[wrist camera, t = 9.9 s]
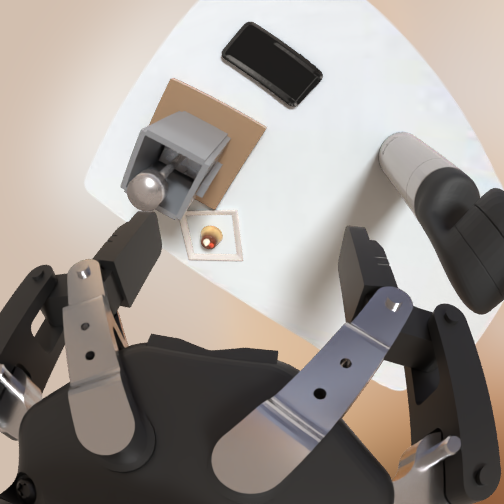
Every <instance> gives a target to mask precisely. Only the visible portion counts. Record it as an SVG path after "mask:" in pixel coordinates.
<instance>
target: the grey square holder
mask: <svg viewBox="0 0 504 504" xmlns="http://www.w3.org/2000/svg"><path fill="white" fill-rule="evenodd" d="M266 128H267V127H266V126H264V125H262V124H261V123H259V122H257V121H255V120H254V119H252V118H250V117H249V116H247V115H245V114H243V113H241V112H240V111H238V110H236V109H234V108H232V107H231V106H229V105H227V104H225V103H223V102H221V101H219V100H218V99H216V98H214V97H212V96H210V95H208V94H206V93H204V92H202V91H200V90H198V89H196V88H194V87H192V86H190V85H188V84H186V83H184V82H181V81H179V80H177V79H175V78H172V79H170V81H169V83H168V85H167V87H166V89H165V91H164V93H163V96H162V98H161V100H160V102H159V104H158V106H157V108H156V111H155V113H154V115H153V117H152V120H151V122H150V124H149V126H147V127H146V128H144V129H142V130H141V131H140V134H139V136H138V139H137V141H136V144H135V147H134V149H133V152H132V155H131V157H130V160H129V163H128V166H127V169H126V172H125V174H124V177H123V180H122V183H121V188H123V189H124V190H125V191H124V192H125V193H127V187H128V184H129V182H130V181H131V180H132V179H133V178H135V177H136V176H137V175H138V174H139V173H140V172H142V171H143V170H146V169H153V170H156V171H158V172H160V171H161V170H162V169H163V168H164V167H165V166H166V165H167V164H165V163H163V162H161V161H159V159H160V156H161V154H162V152H163V150H164V147H165V146H167V147H169V148H171V149H173V150H174V151H176V152H178V153H180V154H182V155H184V156H186V157H187V158H189V159H191V160H193V161H195V162H197V163H198V164H200V165H202V167H201V169H200V171H199V173H198V175H197V177H196V178H195V180H194V179H192V178H190V177H189V176H187V175H185V174H183V173H181V172H179V171H178V170H176V169H174V170H173V171H172V172H171V173H170V174H169V175H168V176H167V177H166V178H165V179H166V181H167V183H168V193H167V195H166V197H165V198H164V199H163V200H162V202H161V203H160V204H159V205H158V206H157V208H155V209H156V210H157V211H159V212H161V213H163V214H165V215H166V216H168V217H170V218H172V219H174V220H175V218H177V219H179V220H180V221H181V219H182V218H183V216H184V214H185V213H186V211H187V210H188V208H189V207H190V205H191V203H192V202H193V200H194V199H196V200H198V201H199V202H201V203H203V204H205V205H207V206H208V207H210V208H212V209H214V210H215V209H216V207H217V206H218V204H219V202H220V201H221V199H222V197H223V196H224V194H225V193H226V191H227V189H228V188H229V186H230V184H231V183H232V181H233V180H234V178H235V176H236V175H237V173H238V172H239V170H240V168H241V167H242V165H243V164H244V162H245V161H246V159H247V157H248V156H249V154H250V153H251V151H252V150H253V148H254V147H255V145H256V143H257V142H258V140H259V139H260V137H261V136H262V134H263V133H264V131H265V130H266Z"/></svg>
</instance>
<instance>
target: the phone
mask: <svg viewBox="0 0 504 504" xmlns="http://www.w3.org/2000/svg"><path fill="white" fill-rule="evenodd" d="M222 56H223V58H224V59H226V60H227V61H229V62H230V63H232V64H233V65H235V66H236V67H238V68H239V69H241V70H242V71H244V72H245V73H247V74H248V75H250V76H251V77H252V78H254V79H255V80H257V81H258V82H259V83H261V84H262V85H263V86H265V87H266V88H268V89H269V90H270V91H272V92H273V93H274V94H275V95H277V96H278V97H279V98H281V99H282V100H283V101H285V102H286V103H287V104H288V105H290V106H297V105H298V104H299V103H300V102H301V101H302V100H303V99H304V98H305V97H306V96H307V95H308V94H309V92H310V91H311V90H312V89H313V88H314V87H315V86H316V85H317V84H318V83H319V82H320V81H321V80H322V77H323V74H322V72H321V71H320V70H319V69H318V68H316V66H314V65H313V64H311V63H310V61H308V60H307V59H306V58H304V57H303V56H302V55H301V54H299V53H297V52H296V51H295V50H293V49H292V48H291V47H289V46H288V45H287V44H285V43H284V42H282V41H281V40H280V39H278V38H277V37H275V36H274V35H272V34H271V33H269V32H268V31H266V30H265V29H263V28H262V27H260V26H259V25H257V24H256V23H254V22H247V23H245V24H244V25H243V26H242V28H241V29H240V30H239V31H238V32H237V33H236V35H235V36H234V37H233V38H232V39H231V41H230V42H229V43H228V44H227V45H226V47H225V48H224V49H223V51H222Z"/></svg>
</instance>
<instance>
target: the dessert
mask: <svg viewBox="0 0 504 504" xmlns="http://www.w3.org/2000/svg"><path fill="white" fill-rule="evenodd" d="M187 215H232V219H233V227H234V235H235V244H236V252H237V254H195V253H194V251H193V246H192V242H191V237H190V233H189V228H188V223H187V219H186V216H187ZM180 224H181V228H182V233H183V237H184V241H185V246H186V250H187V254H188V258H189V260H217V261H243V256H242V247H241V238H240V228H239V219H238V211H237V210H207V211H186V213H185V214H184V216H183V218H182V219H181V221H180ZM222 238H223V235H222V232H221V231H220V230H219V229H218V228H217V227H214V226H206V227H204V228H203V229H202V231H201V244H202V246H203V247H205V248H206V249H213V248H214V247H215V246H217V245H218V244H219V243H220V242H221V240H222Z"/></svg>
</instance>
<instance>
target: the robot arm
mask: <svg viewBox="0 0 504 504" xmlns="http://www.w3.org/2000/svg"><path fill="white" fill-rule="evenodd" d="M379 162H380V166H381V168H382V170H383V172H384V173H385V174H386V176H387V177H388V178H389V180H390V181H391V183H392V184H393V185H394V187H395V188H396V189H397V191H398V192H399V194H400V195H401V196H402V198H403V199H404V201H405V202H406V204H407V205H408V206H409V208H410V209H411V211H412V212H413V214H414V215H415V217H416V218H417V220H418V221H419V223H420V224H421V226H422V228H423V229H424V231H425V233H426V234H427V236H428V238H429V239H430V241H431V243H432V245H433V247H434V249H435V251H436V253H437V255H438V258H439V260H440V262H441V264H442V266H443V268H444V270H445V272H446V275H447V277H448V279H449V281H450V283H451V284H452V286H453V288H454V289H455V291H456V293H457V294H458V296H459V297H460V299H461V300H462V302H463V303H464V304H465V305H466V306H467V307H468V308H469V309H470V310H472V311H473V312H474V313H477V314H486V313H488V312H489V311H491V310H492V309H493V308H494V307H496V306H497V305H498V304H499V303H500V302H501V301H503V300H504V191H503V190H501V189H498V188H493V189H490V190H489V191H488V192H486V193H485V194H484V195H483V196H482V197H481V198H480V194H479V191H478V189H477V186H476V185H475V183H474V182H473V180H472V179H471V178H470V177H469V176H467V175H466V174H465V173H464V172H463V171H461V170H460V169H459V168H458V167H456V166H455V165H454V164H453V163H451V162H450V161H449V160H447V159H446V158H445V157H443V156H442V155H441V154H439V153H438V152H437V151H435V150H434V149H433V148H431V147H430V146H428V145H427V144H426V143H424V142H423V141H421V140H420V139H418V138H417V137H415V136H414V135H412V134H410V133H405V132H400V133H395V134H393V135H391V136H390V137H388V138H387V139H386V140H385V141H384V143H383V144H382V146H381V149H380V152H379ZM161 249H162V242H161V236H160V231H159V226H158V220H157V215H156V213H155V212H144V211H138V212H137V213H136V214H135V215H134V216H133V217H132V219H131V220H130V221H129V222H126V223H125V224H123V225H122V226H120V227H119V228H118V229H117V230H116V231H115V232H114V233H113V235H112V236H111V237H110V238H109V239H108V241H107V242H106V243H105V244H104V245H103V246H102V248H101V249H100V250H99V251H98V253H97V254H96V255H95V256H94V258H93V259H86V260H82V261H80V262H78V263H76V264H75V265H73V266H72V267H71V268H70V270H69V272H68V274H60V275H55V273H54V271H53V269H52V267H51V266H49V265H42V266H39V267H36V268H35V269H33V270H32V271H31V272H30V273H29V274H28V275H27V276H26V278H25V279H24V280H23V282H22V283H21V284H20V286H19V287H18V288H17V290H16V291H15V292H14V294H13V295H12V297H11V298H10V299H9V301H8V302H7V304H6V305H5V307H4V308H3V310H2V311H1V312H0V432H1V433H3V434H5V435H6V436H7V437H9V438H10V439H12V440H19V466H18V473H17V476H16V479H15V481H14V482H13V484H12V485H11V486H10V487H9V488H8V489H6V490H5V491H4V492H3V493H1V494H0V504H472V503H476V502H479V501H481V500H484V499H486V498H488V497H489V496H490V495H492V494H493V492H494V491H495V490H496V488H497V486H498V484H499V481H500V476H501V467H500V456H499V447H498V440H497V433H496V427H495V421H494V416H493V410H492V406H491V401H490V396H489V393H488V388H487V384H486V380H485V377H484V373H483V369H482V366H481V362H480V359H479V356H478V352H477V349H476V346H475V343H474V340H473V337H472V334H471V331H470V329H469V326H468V323H467V320H466V318H465V316H464V314H463V313H462V312H461V311H460V310H459V309H458V308H456V307H455V306H453V305H450V304H440V305H438V306H437V307H436V308H435V310H434V312H429V311H426V310H423V309H420V308H417V307H415V306H413V302H412V300H411V298H410V297H409V295H408V294H407V293H405V292H404V291H403V290H401V289H399V288H398V287H397V284H396V281H395V278H394V275H393V273H392V270H391V267H390V266H389V262H388V259H387V257H386V254H385V251H384V249H383V248H382V247H381V246H380V245H379V243H378V242H377V241H374V240H369V237H368V234H367V231H366V229H365V228H364V227H355V226H347V227H346V229H345V233H344V238H343V243H342V247H341V252H340V256H339V263H338V271H339V278H340V284H341V291H342V297H343V304H344V312H345V319H346V323H345V324H344V325H343V326H342V327H341V328H340V329H339V330H338V331H337V333H336V334H335V335H334V336H333V337H332V338H331V339H330V340H329V341H328V342H327V344H326V345H325V346H324V347H323V348H322V349H321V350H320V351H319V352H318V353H317V354H316V355H315V356H314V357H313V359H312V360H311V361H310V362H309V363H308V364H307V365H306V366H305V367H304V368H303V369H302V370H301V371H299V370H298V369H296V368H294V367H292V366H291V365H289V364H286V363H284V362H281V361H278V360H277V358H278V351H273V350H262V349H251V348H237V349H226V350H212V351H211V350H206V349H204V348H201V347H199V346H196V345H194V344H191V343H189V342H186V341H184V340H181V339H178V338H172V337H167V336H161V335H155V334H151V336H150V338H149V340H148V342H147V343H140V344H135V345H131V346H128V343H127V340H126V336H125V333H124V330H123V326H122V323H121V319H120V315H119V313H118V308H119V306H124V307H129V308H130V307H131V305H132V304H133V302H134V300H135V298H136V296H137V295H138V293H139V291H140V289H141V287H142V286H143V284H144V282H145V280H146V278H147V277H148V275H149V273H150V271H151V269H152V268H153V266H154V265H155V263H156V261H157V259H158V258H159V256H160V254H161ZM39 310H41V311H42V313H43V315H44V316H45V320H44V322H43V323H42V325H41V327H40V328H39V330H38V332H37V333H36V335H35V337H34V336H33V334H32V332H31V324H32V322H33V320H34V318H35V317H36V315H37V314H38V312H39ZM64 345H65V348H66V355H67V364H68V371H69V378H70V382H69V383H67V384H66V385H64V386H63V387H61V388H59V389H58V390H56V391H55V392H53V393H51V394H50V395H48V396H47V397H45V398H43V399H42V393H43V390H44V388H45V386H46V383H47V381H48V379H49V377H50V375H51V372H52V370H53V368H54V366H55V364H56V362H57V360H58V358H59V355H60V353H61V351H62V349H63V347H64ZM383 360H386V361H389V362H393V363H396V364H400V365H403V366H404V370H405V377H406V385H407V393H408V403H409V412H410V427H411V447H409V448H408V449H407V450H406V451H405V452H404V453H403V454H402V456H401V458H400V461H399V467H398V471H397V474H396V476H395V477H394V478H393V479H392V480H391V477H390V475H389V474H388V472H387V471H386V470H385V468H384V467H383V466H382V465H381V464H380V463H379V462H378V461H377V459H376V458H375V457H374V456H373V455H372V454H371V452H370V451H369V450H368V449H367V448H366V447H365V445H364V444H363V443H362V442H361V441H360V440H359V438H358V437H357V436H356V435H355V434H354V432H353V431H352V430H351V429H350V428H349V426H348V425H347V424H346V423H345V422H344V420H343V419H342V417H343V416H344V415H345V414H346V412H347V411H348V410H349V408H350V407H351V406H352V404H353V403H354V402H355V400H356V399H357V398H358V396H359V395H360V394H361V392H362V391H363V390H364V388H365V387H366V385H367V384H368V383H369V381H370V380H371V378H372V377H373V375H374V374H375V372H376V371H377V369H378V368H379V366H380V365H381V363H382V362H383Z"/></svg>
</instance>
